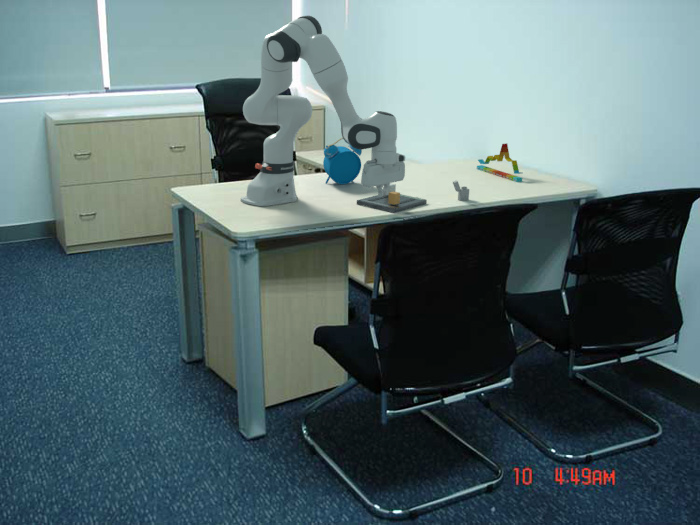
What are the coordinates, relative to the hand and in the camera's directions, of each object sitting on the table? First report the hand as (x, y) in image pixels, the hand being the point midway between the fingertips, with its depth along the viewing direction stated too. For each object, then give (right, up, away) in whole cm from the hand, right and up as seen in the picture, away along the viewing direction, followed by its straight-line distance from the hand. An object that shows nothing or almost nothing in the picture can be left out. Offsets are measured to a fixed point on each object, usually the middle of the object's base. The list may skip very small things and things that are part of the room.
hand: (382, 195), depth 273 cm
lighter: (+31, 0, +22) cm, 38 cm away
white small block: (+4, +2, +20) cm, 21 cm away
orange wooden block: (+5, -2, +7) cm, 9 cm away
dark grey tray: (+4, -2, +15) cm, 15 cm away
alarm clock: (-16, +9, +46) cm, 50 cm away
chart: (+56, +15, +70) cm, 91 cm away
